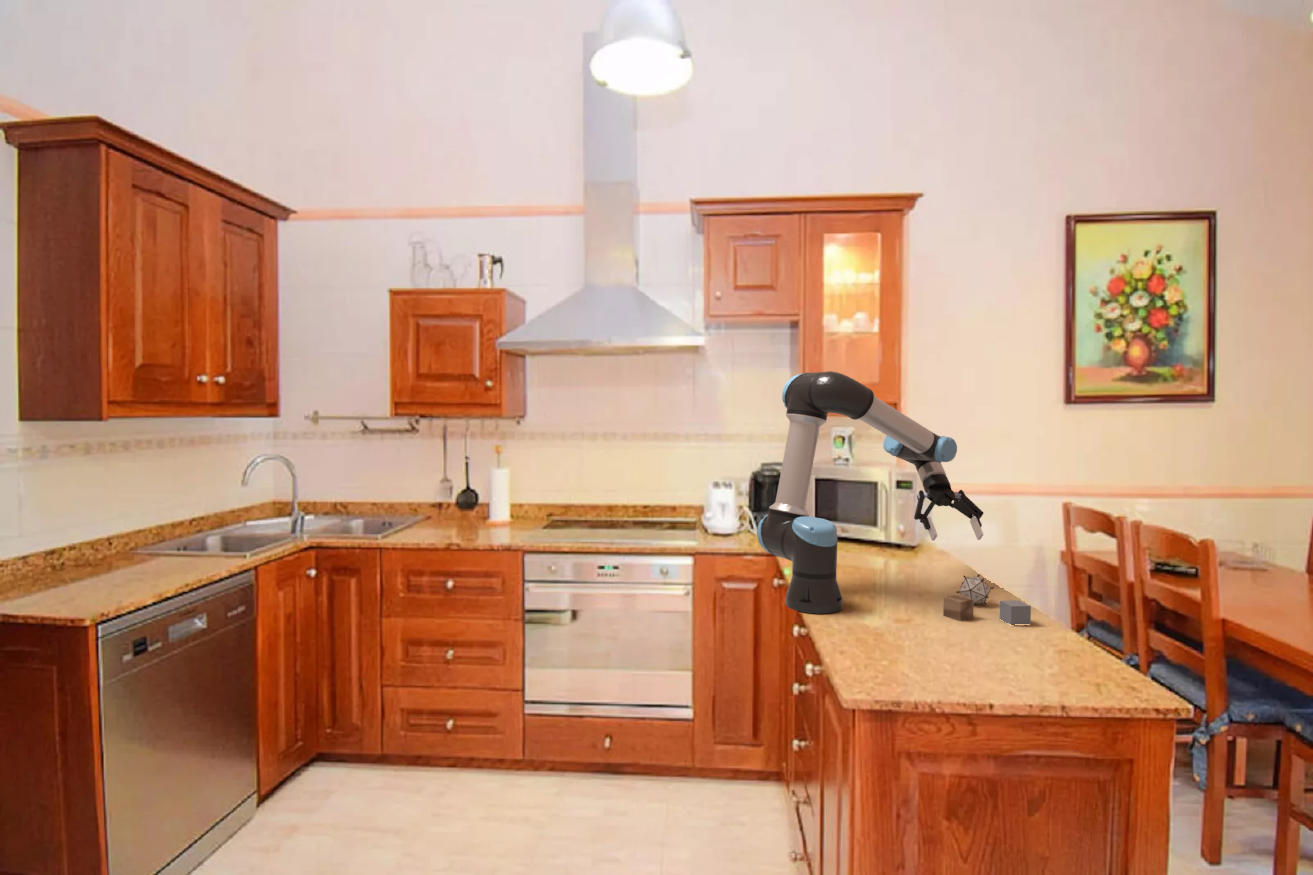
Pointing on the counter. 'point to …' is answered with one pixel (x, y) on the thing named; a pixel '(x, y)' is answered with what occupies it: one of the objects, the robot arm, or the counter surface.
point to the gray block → (1015, 612)
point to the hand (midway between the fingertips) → (957, 537)
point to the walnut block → (958, 607)
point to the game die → (975, 589)
